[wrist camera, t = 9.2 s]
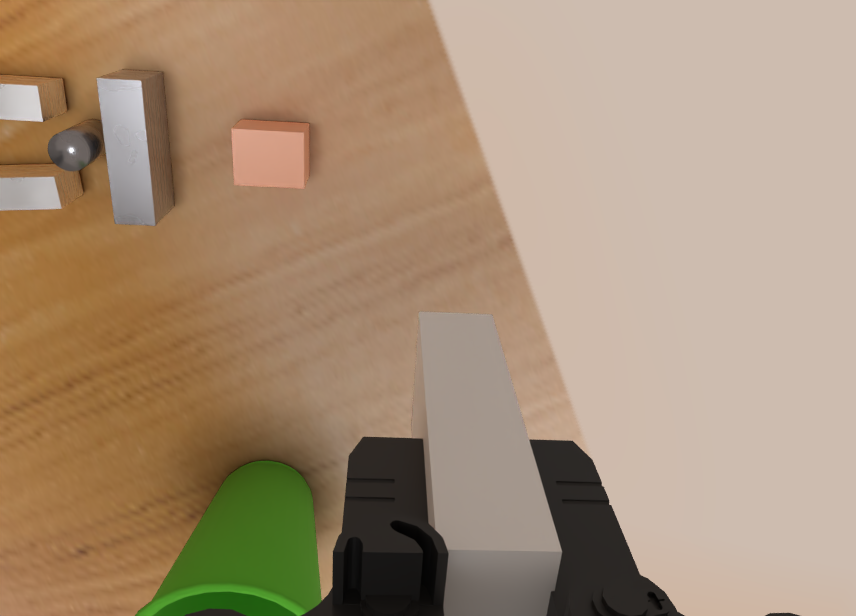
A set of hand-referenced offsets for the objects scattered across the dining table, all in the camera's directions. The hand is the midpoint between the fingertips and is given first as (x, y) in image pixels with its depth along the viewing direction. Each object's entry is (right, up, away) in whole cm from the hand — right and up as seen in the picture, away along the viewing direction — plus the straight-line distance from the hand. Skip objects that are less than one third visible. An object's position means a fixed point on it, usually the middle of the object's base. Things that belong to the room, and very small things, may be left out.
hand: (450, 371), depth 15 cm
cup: (-10, -9, +26) cm, 29 cm away
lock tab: (-7, +9, +17) cm, 21 cm away
